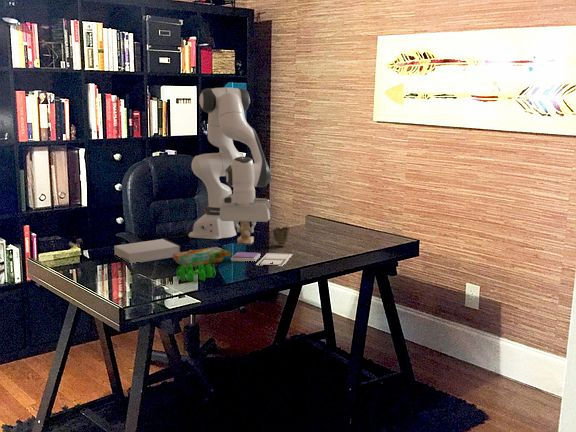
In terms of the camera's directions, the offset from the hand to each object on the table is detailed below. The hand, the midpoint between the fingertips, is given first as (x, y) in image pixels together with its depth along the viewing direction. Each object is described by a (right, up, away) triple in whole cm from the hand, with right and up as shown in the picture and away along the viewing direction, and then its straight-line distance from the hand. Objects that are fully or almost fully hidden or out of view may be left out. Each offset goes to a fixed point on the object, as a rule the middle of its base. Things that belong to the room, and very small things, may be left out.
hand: (245, 232), depth 263 cm
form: (+12, -11, 0) cm, 16 cm away
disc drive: (-41, -11, +10) cm, 44 cm away
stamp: (0, -5, +1) cm, 5 cm away
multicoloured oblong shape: (-17, -12, -1) cm, 21 cm away
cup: (+14, -7, +23) cm, 28 cm away
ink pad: (0, -11, +2) cm, 11 cm away
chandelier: (-17, -16, -23) cm, 33 cm away
